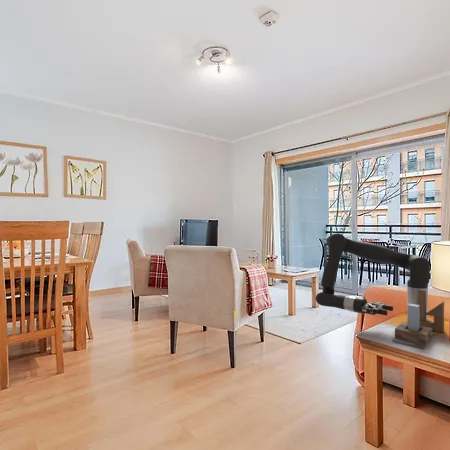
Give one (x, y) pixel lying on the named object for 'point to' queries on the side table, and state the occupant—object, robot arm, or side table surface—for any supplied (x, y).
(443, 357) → the side table surface
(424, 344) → the wooden socket base
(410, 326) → the rectangular block
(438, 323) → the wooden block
